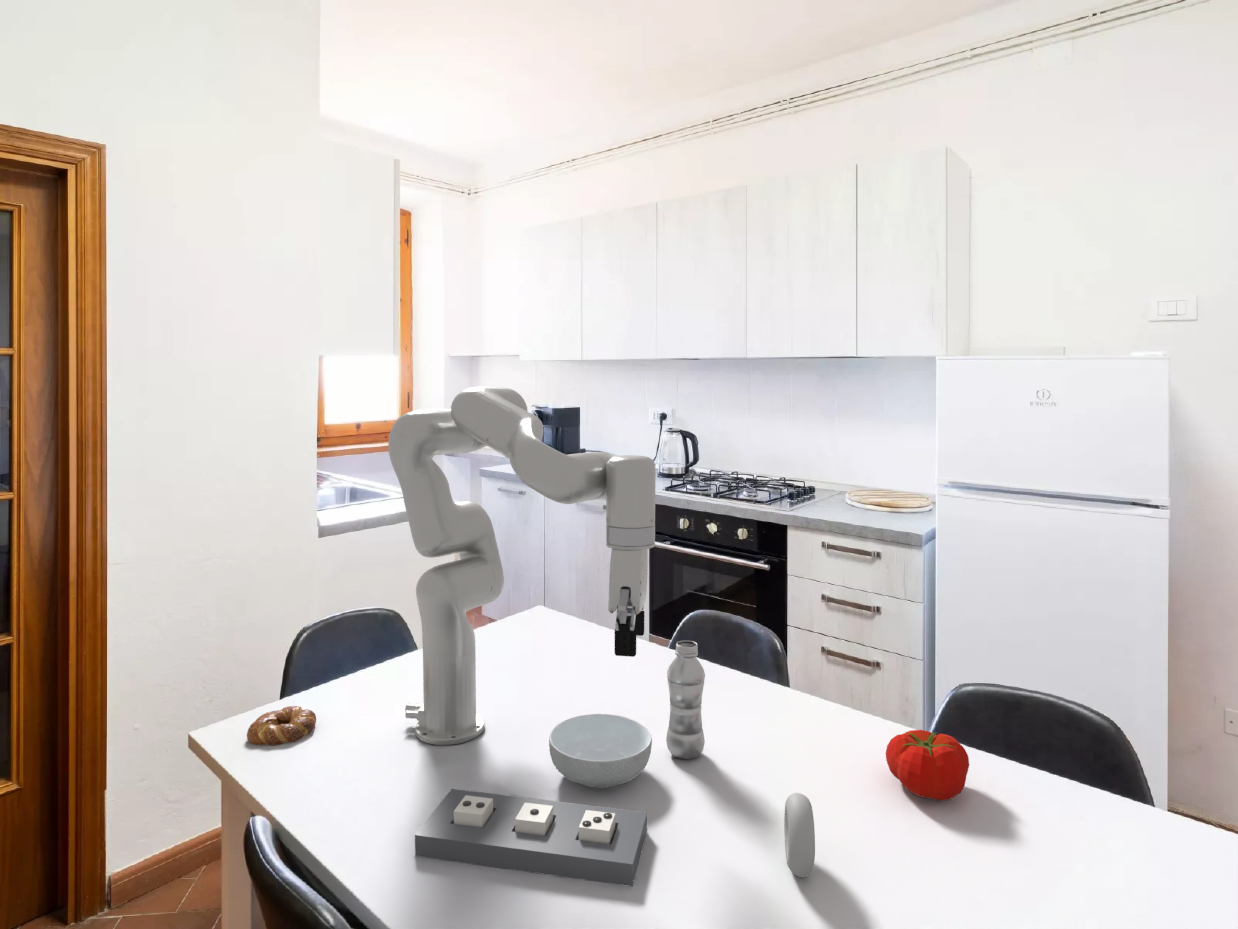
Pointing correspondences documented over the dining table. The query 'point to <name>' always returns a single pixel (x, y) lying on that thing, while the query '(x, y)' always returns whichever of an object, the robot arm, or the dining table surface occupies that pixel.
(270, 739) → the pretzel
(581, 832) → the button three dots
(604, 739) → the cereal bowl
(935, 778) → the tomato
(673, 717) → the plastic bottle
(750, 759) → the dining table surface
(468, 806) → the button two dots
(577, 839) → the button panel
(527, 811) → the button one dot
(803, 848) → the donut
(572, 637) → the dining table surface
